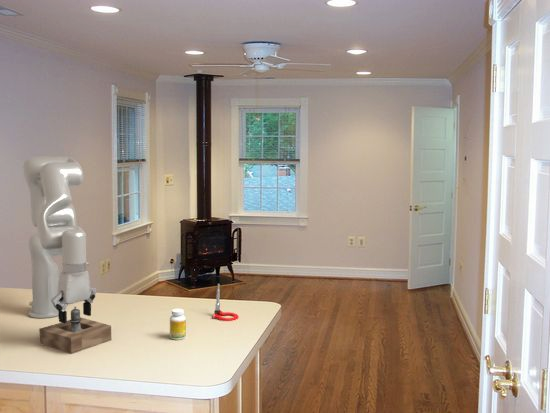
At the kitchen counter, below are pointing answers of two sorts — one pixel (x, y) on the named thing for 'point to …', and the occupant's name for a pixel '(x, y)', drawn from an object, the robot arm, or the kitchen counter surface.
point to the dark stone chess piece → (75, 321)
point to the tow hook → (218, 312)
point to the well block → (75, 335)
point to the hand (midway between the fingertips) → (75, 318)
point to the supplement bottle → (177, 324)
